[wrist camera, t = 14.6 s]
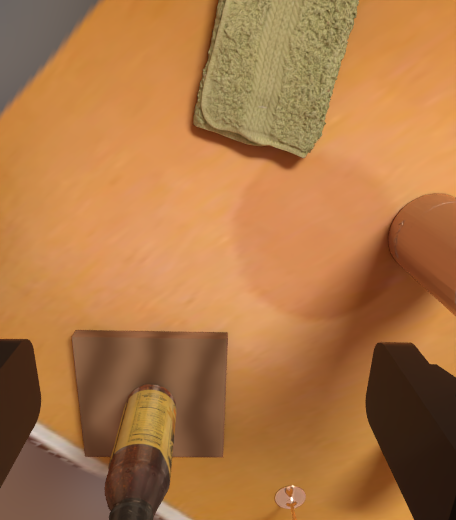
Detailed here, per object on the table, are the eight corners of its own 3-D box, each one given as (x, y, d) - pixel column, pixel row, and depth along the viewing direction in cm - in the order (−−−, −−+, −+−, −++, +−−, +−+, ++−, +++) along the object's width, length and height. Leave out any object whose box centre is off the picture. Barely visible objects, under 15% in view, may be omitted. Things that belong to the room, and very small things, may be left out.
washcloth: (189, 129, 43) (187, 131, 40) (230, -78, 37) (231, -93, 34) (312, 159, 44) (319, 163, 41) (371, -35, 38) (384, -47, 35)
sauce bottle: (159, 428, 54) (131, 603, 36) (117, 405, 53) (65, 575, 34) (189, 394, 52) (176, 559, 34) (146, 370, 51) (108, 528, 32)
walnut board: (227, 332, 51) (227, 339, 50) (222, 448, 57) (223, 457, 56) (75, 330, 50) (71, 336, 49) (88, 447, 57) (85, 456, 55)
